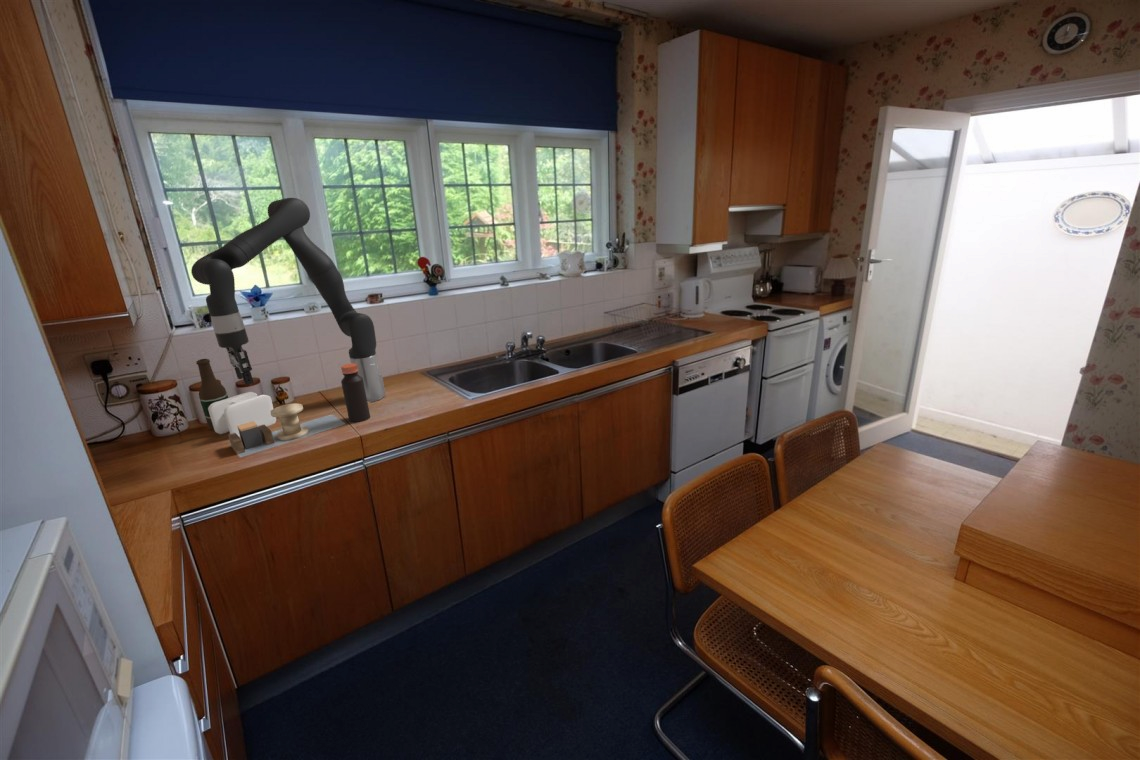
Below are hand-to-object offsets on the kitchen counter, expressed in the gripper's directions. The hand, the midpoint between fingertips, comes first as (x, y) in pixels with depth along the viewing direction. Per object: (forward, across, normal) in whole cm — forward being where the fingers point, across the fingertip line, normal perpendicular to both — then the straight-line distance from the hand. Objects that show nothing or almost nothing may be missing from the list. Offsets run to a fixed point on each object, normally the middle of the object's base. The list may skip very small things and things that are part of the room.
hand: (245, 381), depth 150 cm
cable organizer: (+21, +16, +1) cm, 26 cm away
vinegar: (+22, -8, -28) cm, 36 cm away
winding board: (+21, -2, -7) cm, 22 cm away
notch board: (+20, -2, +3) cm, 20 cm away
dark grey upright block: (+20, -2, +3) cm, 20 cm away
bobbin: (+20, -4, -8) cm, 22 cm away
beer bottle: (+21, +28, +6) cm, 35 cm away
